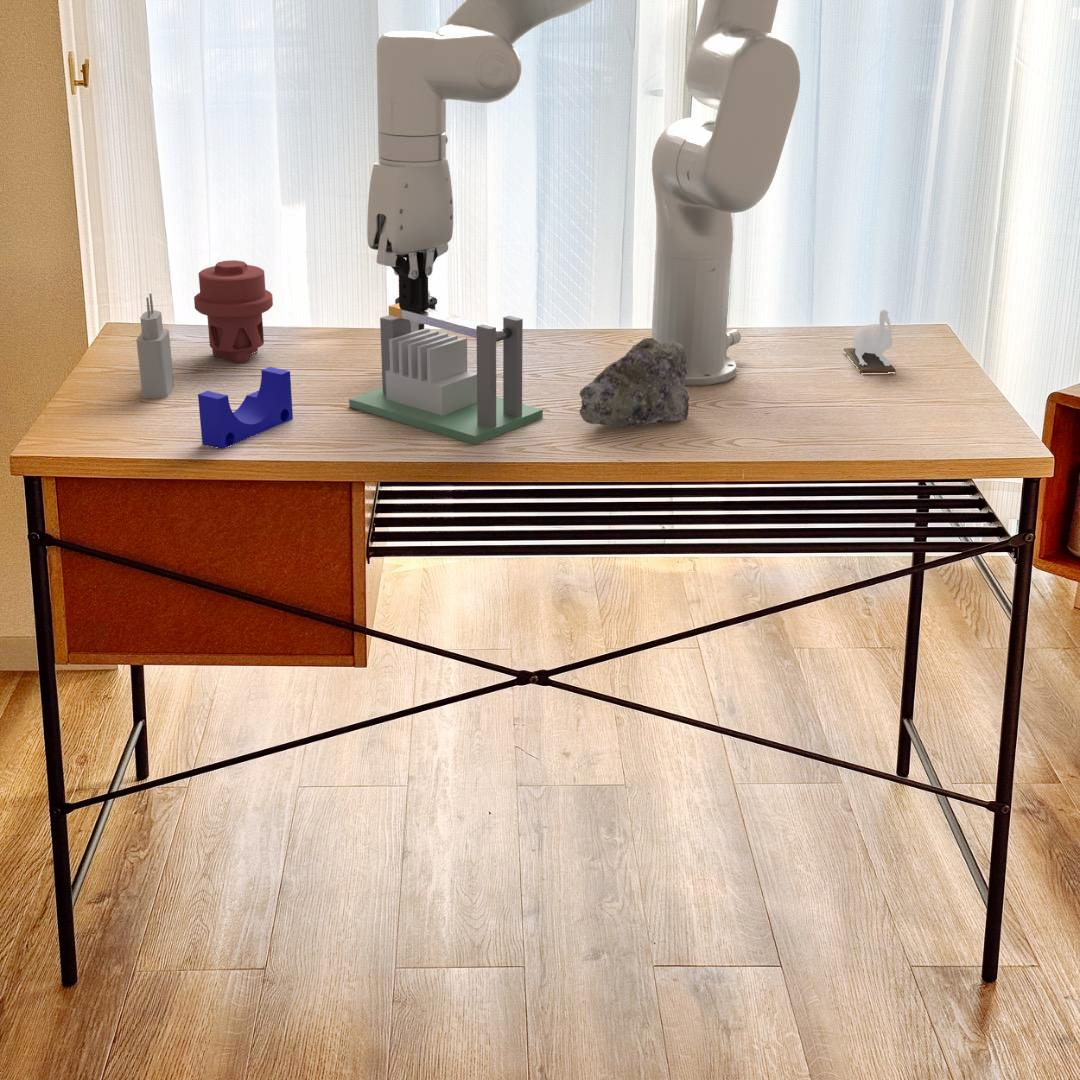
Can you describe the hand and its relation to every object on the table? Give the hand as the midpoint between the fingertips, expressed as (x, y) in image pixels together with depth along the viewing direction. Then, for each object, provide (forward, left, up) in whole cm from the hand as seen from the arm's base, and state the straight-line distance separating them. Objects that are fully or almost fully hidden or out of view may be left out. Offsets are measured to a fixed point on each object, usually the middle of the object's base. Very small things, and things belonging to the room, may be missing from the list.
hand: (413, 309), depth 171 cm
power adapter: (+17, -28, -12) cm, 34 cm away
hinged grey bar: (0, +5, -1) cm, 5 cm away
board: (0, +4, -12) cm, 13 cm away
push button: (-10, -10, -12) cm, 19 cm away
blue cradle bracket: (+19, -9, -12) cm, 24 cm away
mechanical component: (+1, -32, -12) cm, 34 cm away
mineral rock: (-13, +23, -12) cm, 29 cm away
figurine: (-50, +35, -12) cm, 62 cm away
